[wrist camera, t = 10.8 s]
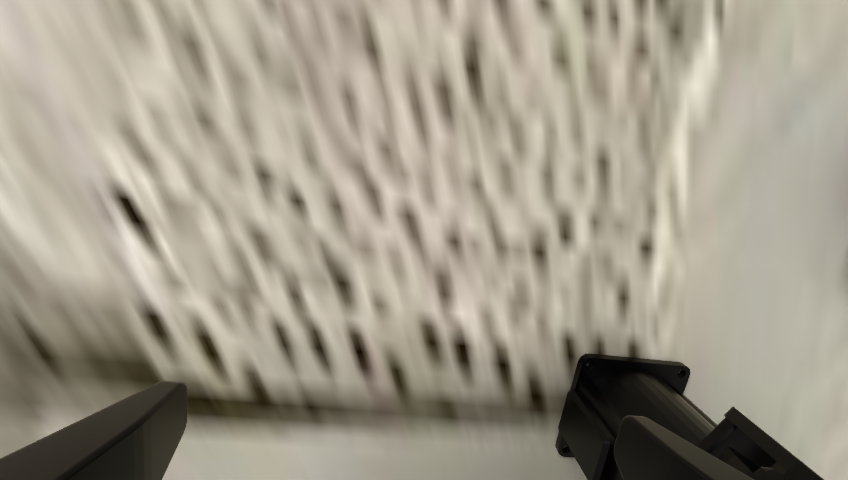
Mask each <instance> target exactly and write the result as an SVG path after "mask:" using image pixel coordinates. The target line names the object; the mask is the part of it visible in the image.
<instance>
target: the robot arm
mask: <svg viewBox="0 0 848 480" xmlns="http://www.w3.org/2000/svg"><path fill="white" fill-rule="evenodd" d="M588 362H591V363H590V365H588V366H586V364H587V363H588ZM680 370H681V371H680ZM679 371H680V372H679ZM678 372H679V373H678ZM689 375H690V369H689V368H688V367H687V366H685V365H684V364H683V363H680V362H672V361H661V360H650V359H640V358H629V357H618V356H608V355H597V354H585V355H583V356H581V357H580V359H579V361H578V364H577V368H576V372H575V375H574V379H573V383H572V386H571V389H570V391H569V392H568V394H567V398H566V402H565V405H564V409H563V413H562V416H561V420H560V424H559V434H558V437H557V441H556V449H557V451H558V453H559V454H560V455H561V456H564V457H575V458H576V460H577V462H578V464H579V465H580V467H581V469H582V471H583V472H584V474H585V476H586V478H587V479H588V480H824V479H823V478H822V477H820V476H819V475H818V474H817V473H815V472H814V471H813V470H812V469H810V468H809V467H808V466H807V465H805V464H804V463H803V462H802V461H800V460H799V459H798V458H797V457H795V456H794V455H793V454H792V453H790V452H789V451H788V450H787V449H785V448H784V447H783V446H782V445H780V444H779V443H778V442H777V441H775V440H774V439H773V438H772V437H770V436H769V435H768V434H767V433H765V432H764V431H763V430H762V429H760V428H759V427H758V426H757V425H755V424H754V423H753V422H752V421H750V420H749V419H748V418H747V417H745V416H744V415H743V414H742V413H740V412H739V411H738V410H737V409H735V408H734V407H732V408H731V409H730V410H729V411H728V412H727V413H726V414H725V415H724V416H725V417H726V418H725V419H724V420H723V421H721V422H720V423H719V424H718V425H717V424H715V423H714V422H713V421H712V420H711V419H710V418H709V417H708V416H707V415H705V414H704V413H703V412H702V411H701V410H700V409H699V408H698V407H697V406H695V405H694V404H693V403H692V402H691V401H690V400H689V399H688V398H687V397H685V396H684V395H683V392H684V390H685V387H686V384H687V381H688V378H689ZM186 423H187V386H186V384H185V383H184V382H176V381H161V382H158V383H156V384H154V385H152V386H150V387H148V388H146V389H144V390H142V391H140V392H138V393H136V394H133V395H131V396H129V397H127V398H125V399H123V400H121V401H119V402H117V403H115V404H113V405H111V406H109V407H107V408H104V409H102V410H100V411H98V412H96V413H94V414H92V415H90V416H88V417H86V418H84V419H82V420H80V421H78V422H76V423H73V424H71V425H69V426H67V427H65V428H63V429H61V430H59V431H57V432H55V433H53V434H51V435H49V436H47V437H44V438H42V439H40V440H38V441H36V442H34V443H32V444H30V445H28V446H26V447H24V448H22V449H20V450H17V451H15V452H13V453H11V454H9V455H7V456H5V457H3V458H1V459H0V480H162V478H163V476H164V474H165V472H166V470H167V468H168V465H169V463H170V461H171V459H172V457H173V455H174V452H175V450H176V448H177V446H178V444H179V442H180V440H181V437H182V435H183V433H184V430H185V427H186ZM565 446H567V447H565ZM563 447H565V448H563Z"/></svg>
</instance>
